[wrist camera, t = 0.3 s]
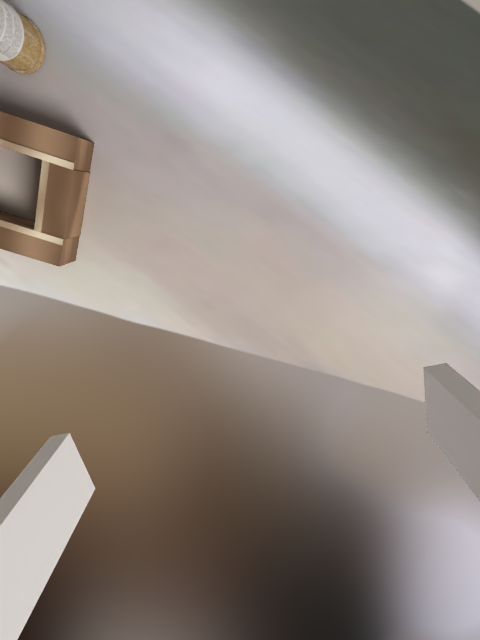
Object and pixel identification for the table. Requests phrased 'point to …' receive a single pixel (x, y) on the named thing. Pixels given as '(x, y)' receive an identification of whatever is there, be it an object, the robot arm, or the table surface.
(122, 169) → the table surface
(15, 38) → the sprinkles bottle
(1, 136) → the socket
